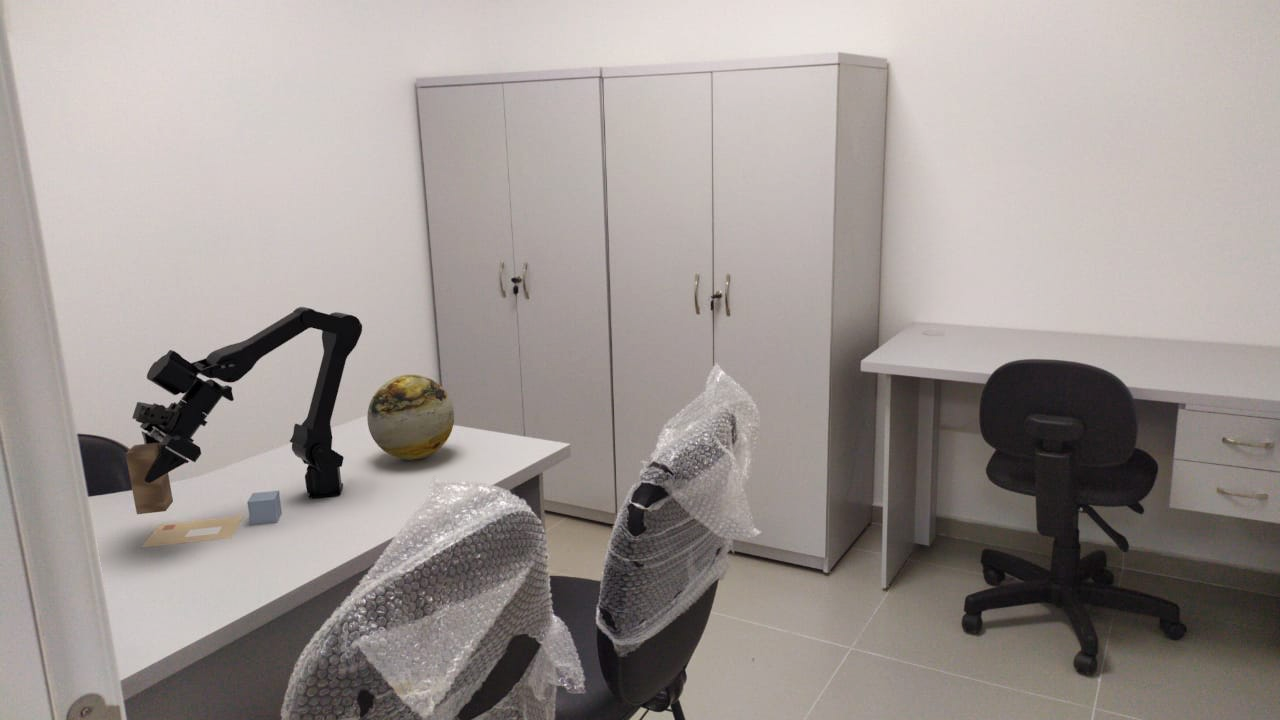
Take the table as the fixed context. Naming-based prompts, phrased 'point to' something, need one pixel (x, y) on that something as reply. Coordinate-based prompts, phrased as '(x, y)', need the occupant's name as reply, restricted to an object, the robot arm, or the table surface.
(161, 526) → the kraft envelope
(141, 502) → the walnut block
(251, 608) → the table surface
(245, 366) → the robot arm
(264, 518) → the slate-blue cube
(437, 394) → the decorative sphere
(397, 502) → the table surface
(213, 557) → the table surface
